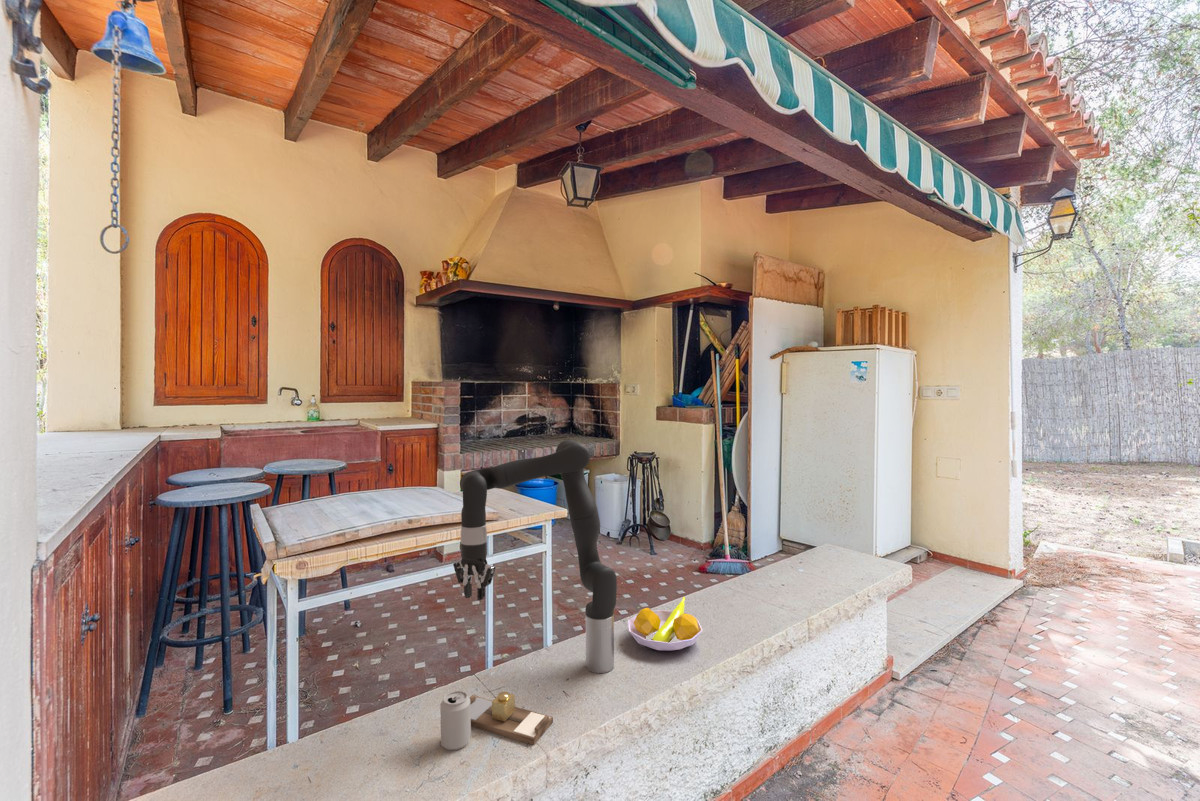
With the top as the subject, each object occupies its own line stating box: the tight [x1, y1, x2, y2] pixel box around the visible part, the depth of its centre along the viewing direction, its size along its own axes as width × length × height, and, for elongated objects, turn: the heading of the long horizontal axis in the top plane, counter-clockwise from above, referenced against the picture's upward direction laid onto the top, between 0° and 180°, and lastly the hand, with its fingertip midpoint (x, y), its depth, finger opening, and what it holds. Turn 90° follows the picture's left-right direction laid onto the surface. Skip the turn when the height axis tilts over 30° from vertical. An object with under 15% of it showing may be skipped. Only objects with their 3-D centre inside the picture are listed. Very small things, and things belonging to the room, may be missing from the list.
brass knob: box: [492, 691, 516, 722], centre depth 145 cm, size 5×4×6 cm
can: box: [439, 690, 472, 751], centre depth 137 cm, size 8×8×12 cm
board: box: [469, 694, 554, 746], centre depth 145 cm, size 10×25×3 cm, turn 67°
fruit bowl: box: [627, 596, 703, 652], centre depth 192 cm, size 28×27×11 cm
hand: (474, 598), depth 157 cm, fingers open, 3 cm apart
